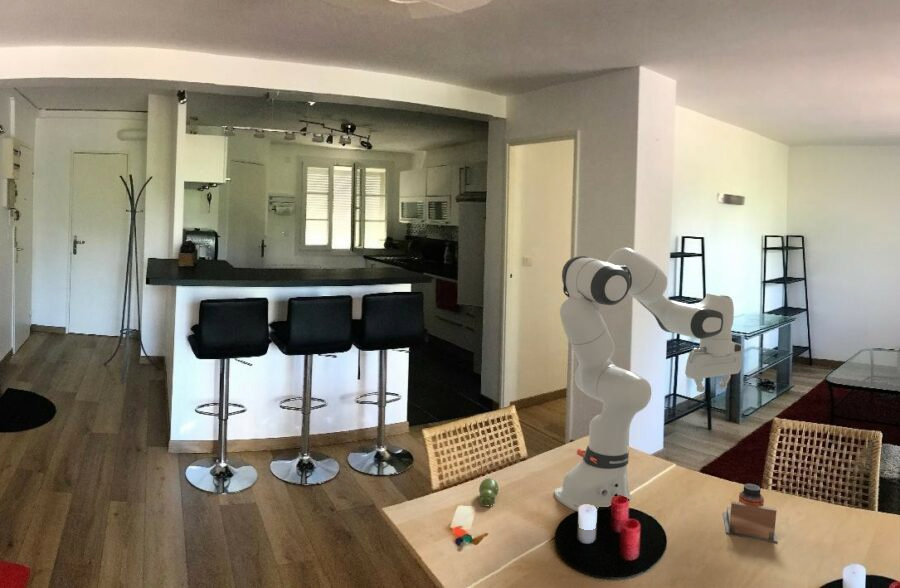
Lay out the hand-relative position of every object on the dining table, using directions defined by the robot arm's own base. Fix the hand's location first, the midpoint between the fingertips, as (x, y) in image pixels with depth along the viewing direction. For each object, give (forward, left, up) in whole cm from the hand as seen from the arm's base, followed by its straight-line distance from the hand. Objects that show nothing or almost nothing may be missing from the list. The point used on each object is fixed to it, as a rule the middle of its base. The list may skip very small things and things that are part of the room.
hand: (711, 389), depth 190 cm
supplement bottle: (-13, -27, -29) cm, 42 cm away
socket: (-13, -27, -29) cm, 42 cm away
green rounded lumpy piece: (-70, +15, -30) cm, 77 cm away
